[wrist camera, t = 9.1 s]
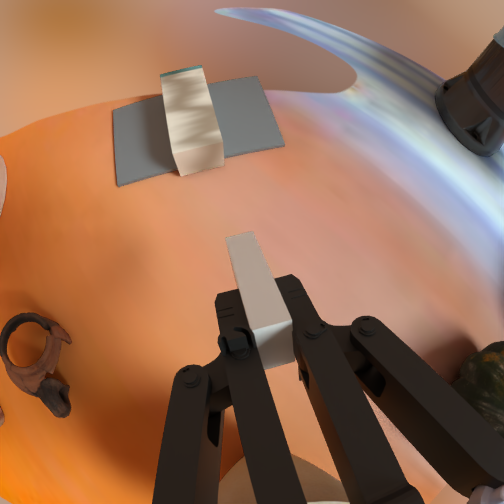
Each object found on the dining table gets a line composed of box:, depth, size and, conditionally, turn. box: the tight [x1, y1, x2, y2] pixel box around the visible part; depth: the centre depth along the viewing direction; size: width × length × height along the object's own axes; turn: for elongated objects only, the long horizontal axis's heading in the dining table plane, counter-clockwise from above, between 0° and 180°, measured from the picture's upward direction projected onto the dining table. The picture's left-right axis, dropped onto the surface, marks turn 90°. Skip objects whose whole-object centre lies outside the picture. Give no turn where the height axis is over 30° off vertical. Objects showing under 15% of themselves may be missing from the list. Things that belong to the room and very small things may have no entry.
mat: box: [113, 76, 285, 187], centre depth 34 cm, size 20×12×1 cm, turn 105°
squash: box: [451, 341, 504, 439], centre depth 23 cm, size 14×15×15 cm
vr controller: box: [0, 312, 72, 418], centre depth 25 cm, size 12×10×8 cm
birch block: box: [160, 65, 225, 176], centre depth 31 cm, size 5×5×12 cm
